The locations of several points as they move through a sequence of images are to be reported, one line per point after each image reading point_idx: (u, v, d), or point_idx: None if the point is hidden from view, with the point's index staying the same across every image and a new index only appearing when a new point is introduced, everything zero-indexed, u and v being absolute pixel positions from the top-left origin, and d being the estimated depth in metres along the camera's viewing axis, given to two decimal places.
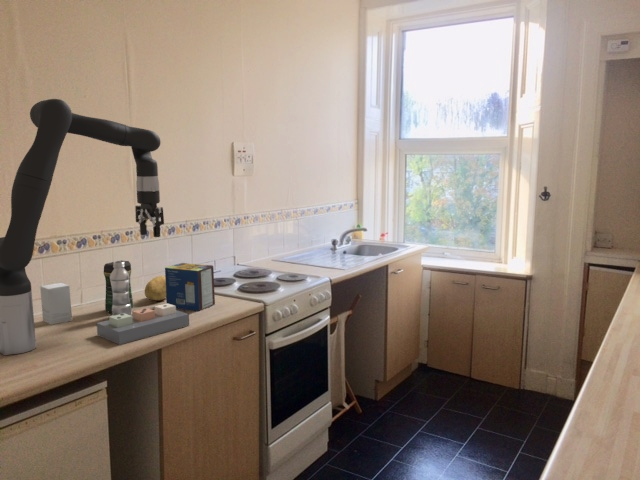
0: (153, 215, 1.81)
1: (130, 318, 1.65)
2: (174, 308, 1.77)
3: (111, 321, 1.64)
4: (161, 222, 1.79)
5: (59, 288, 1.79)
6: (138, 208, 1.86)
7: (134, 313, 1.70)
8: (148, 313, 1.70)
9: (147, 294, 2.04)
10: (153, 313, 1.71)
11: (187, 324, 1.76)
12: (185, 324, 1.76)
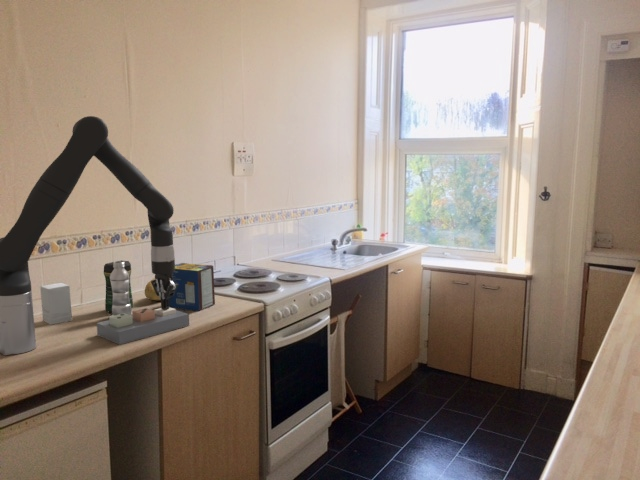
0: None
1: (130, 318, 1.65)
2: (174, 311, 1.77)
3: (111, 321, 1.64)
4: (170, 295, 1.75)
5: (59, 288, 1.79)
6: (154, 281, 1.79)
7: (134, 313, 1.70)
8: (148, 313, 1.70)
9: (147, 294, 2.04)
10: (153, 313, 1.71)
11: (187, 324, 1.76)
12: (185, 324, 1.76)
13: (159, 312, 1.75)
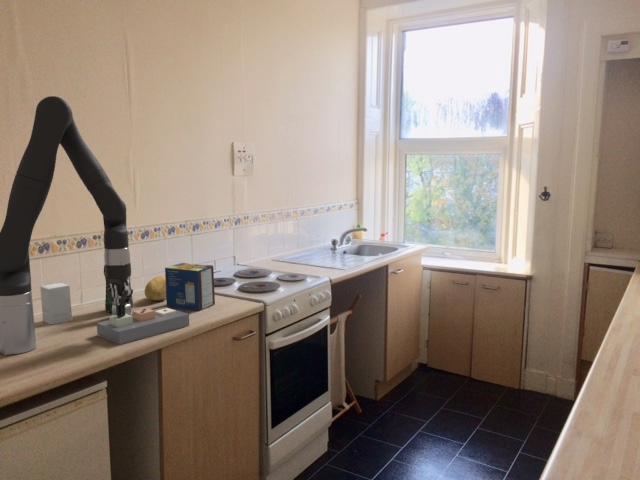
0: None
1: (130, 318, 1.65)
2: (175, 312, 1.77)
3: (111, 321, 1.64)
4: (125, 301, 1.63)
5: (59, 288, 1.79)
6: (109, 286, 1.67)
7: (134, 313, 1.70)
8: (148, 313, 1.70)
9: (147, 294, 2.04)
10: (153, 313, 1.71)
11: (187, 324, 1.76)
12: (185, 324, 1.76)
13: (159, 313, 1.75)
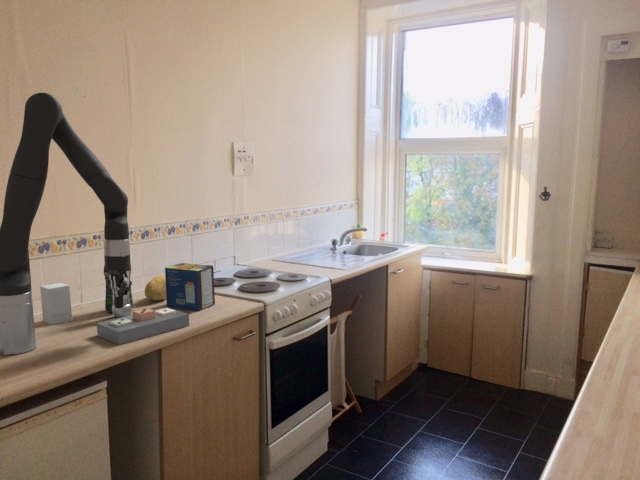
0: None
1: (130, 323, 1.65)
2: (175, 312, 1.77)
3: None
4: (124, 293, 1.62)
5: (59, 288, 1.79)
6: (108, 278, 1.66)
7: (134, 313, 1.70)
8: (148, 313, 1.70)
9: (147, 294, 2.04)
10: (153, 313, 1.71)
11: (187, 324, 1.76)
12: (185, 324, 1.76)
13: (159, 313, 1.75)
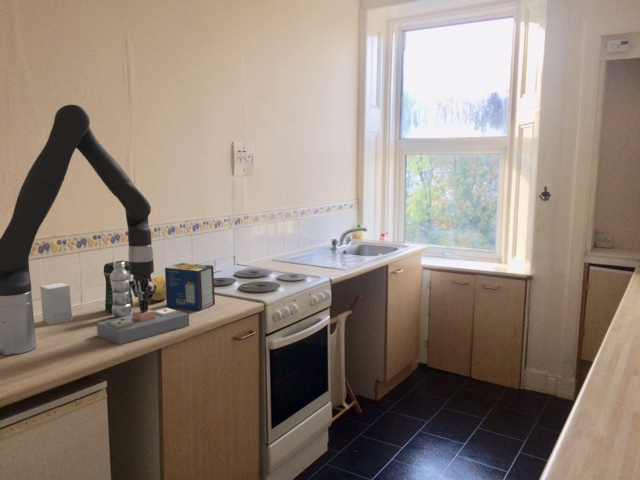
0: None
1: (130, 323, 1.65)
2: (175, 312, 1.77)
3: None
4: (149, 296, 1.69)
5: (59, 288, 1.79)
6: (132, 282, 1.73)
7: (134, 313, 1.70)
8: (148, 313, 1.70)
9: None
10: (153, 313, 1.71)
11: (187, 324, 1.76)
12: (185, 324, 1.76)
13: (159, 313, 1.75)
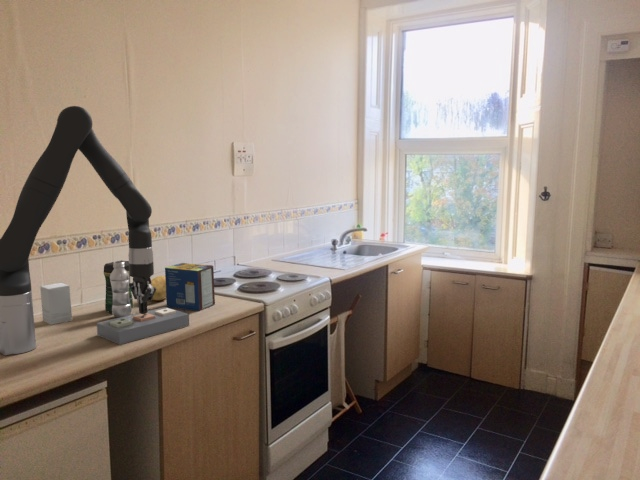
0: None
1: (130, 323, 1.65)
2: (175, 312, 1.77)
3: None
4: (148, 299, 1.69)
5: (59, 288, 1.79)
6: (132, 284, 1.73)
7: (134, 318, 1.71)
8: (148, 318, 1.70)
9: None
10: (153, 318, 1.71)
11: (187, 324, 1.76)
12: (185, 324, 1.76)
13: (159, 313, 1.75)
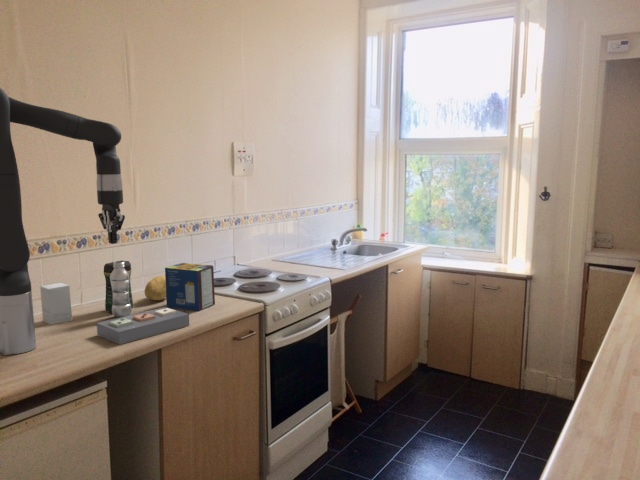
0: None
1: (130, 323, 1.65)
2: (175, 312, 1.77)
3: None
4: (117, 227, 1.65)
5: (59, 288, 1.79)
6: (101, 214, 1.69)
7: (134, 318, 1.71)
8: (148, 318, 1.70)
9: (147, 294, 2.04)
10: (153, 318, 1.71)
11: (187, 324, 1.76)
12: (185, 324, 1.76)
13: (159, 313, 1.75)
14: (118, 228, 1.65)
